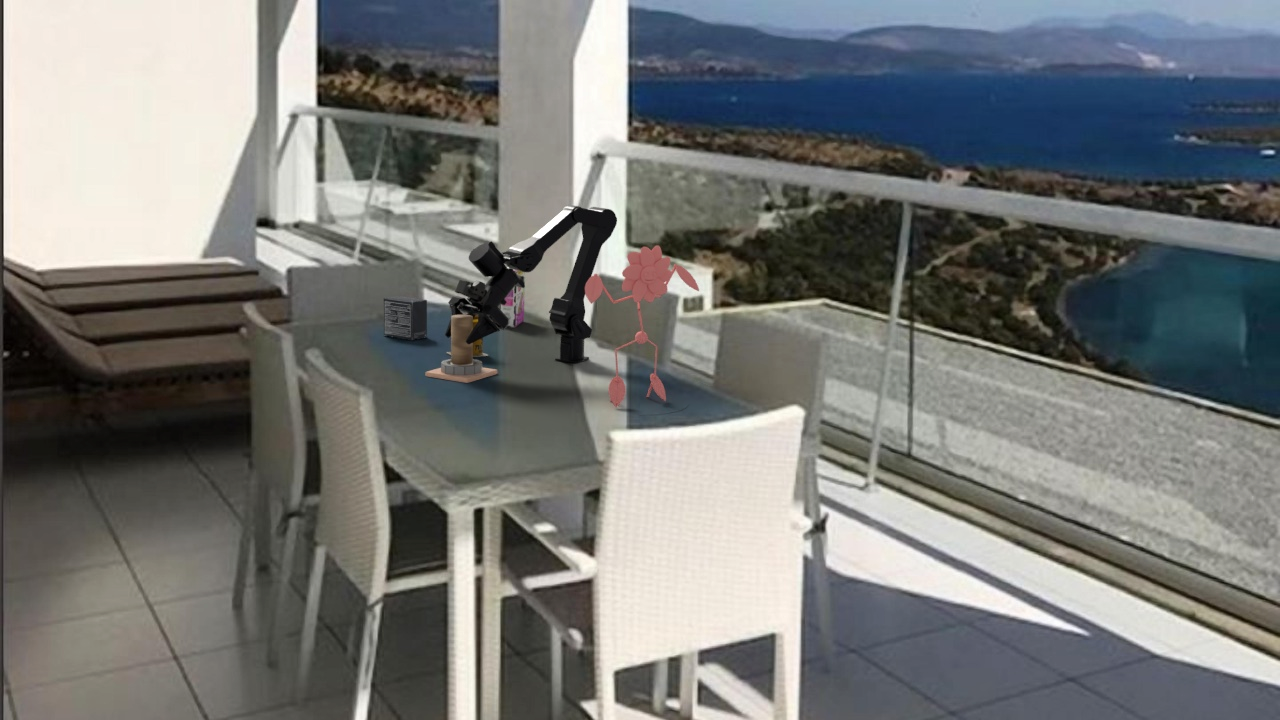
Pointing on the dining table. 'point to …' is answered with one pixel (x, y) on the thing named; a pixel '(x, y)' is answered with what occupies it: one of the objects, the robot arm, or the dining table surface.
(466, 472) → the dining table surface
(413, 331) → the small box
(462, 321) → the brown cylinder
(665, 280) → the figurine
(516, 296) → the candy bar box
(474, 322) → the condiment
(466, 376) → the collar
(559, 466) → the dining table surface
